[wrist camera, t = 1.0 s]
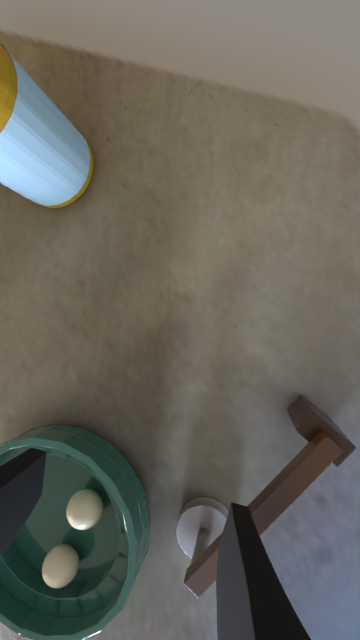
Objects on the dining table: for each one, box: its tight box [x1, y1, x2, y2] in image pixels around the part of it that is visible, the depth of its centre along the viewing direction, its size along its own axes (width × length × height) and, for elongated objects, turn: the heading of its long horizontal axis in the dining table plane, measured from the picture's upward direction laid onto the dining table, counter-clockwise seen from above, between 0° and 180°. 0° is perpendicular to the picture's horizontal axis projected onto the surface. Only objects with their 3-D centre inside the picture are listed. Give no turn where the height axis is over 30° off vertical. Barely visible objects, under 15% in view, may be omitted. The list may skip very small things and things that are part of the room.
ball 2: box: [66, 489, 103, 530], centre depth 25 cm, size 3×3×3 cm
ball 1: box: [42, 544, 79, 588], centre depth 26 cm, size 3×3×3 cm
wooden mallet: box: [176, 395, 356, 598], centre depth 22 cm, size 15×4×6 cm, turn 140°
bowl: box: [0, 424, 150, 640], centre depth 26 cm, size 15×15×4 cm
